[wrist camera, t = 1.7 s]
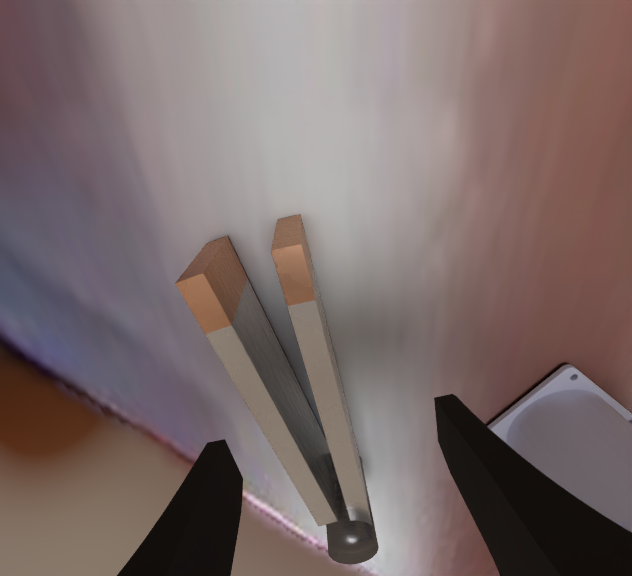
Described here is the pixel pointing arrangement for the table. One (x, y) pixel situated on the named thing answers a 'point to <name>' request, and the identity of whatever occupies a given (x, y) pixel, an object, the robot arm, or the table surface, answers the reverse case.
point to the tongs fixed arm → (325, 395)
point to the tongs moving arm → (260, 371)
